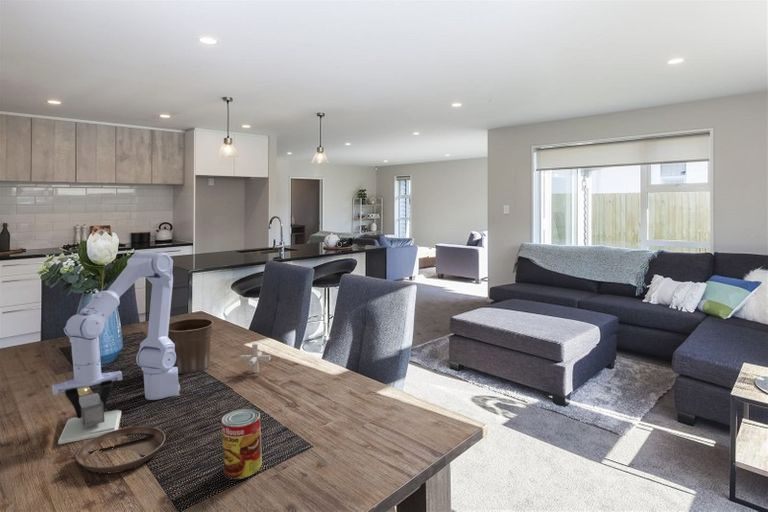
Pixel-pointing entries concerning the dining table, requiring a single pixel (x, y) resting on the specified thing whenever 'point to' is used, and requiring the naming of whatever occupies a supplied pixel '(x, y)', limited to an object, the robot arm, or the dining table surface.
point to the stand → (89, 428)
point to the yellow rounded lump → (83, 391)
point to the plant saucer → (124, 447)
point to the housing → (91, 410)
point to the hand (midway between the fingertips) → (91, 413)
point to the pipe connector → (255, 358)
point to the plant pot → (191, 344)
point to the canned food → (241, 443)
